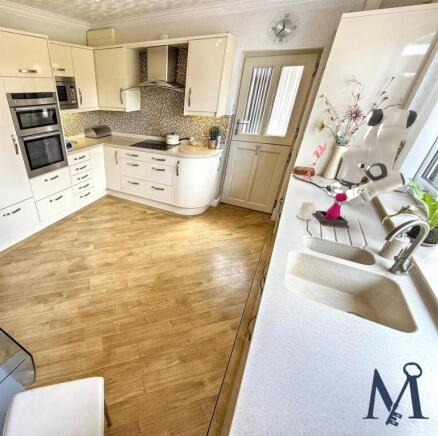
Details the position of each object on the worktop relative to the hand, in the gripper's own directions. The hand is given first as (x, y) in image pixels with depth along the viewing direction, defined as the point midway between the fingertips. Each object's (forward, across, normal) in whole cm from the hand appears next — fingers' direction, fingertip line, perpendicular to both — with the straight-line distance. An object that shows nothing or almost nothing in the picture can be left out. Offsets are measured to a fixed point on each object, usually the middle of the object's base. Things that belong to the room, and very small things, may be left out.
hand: (338, 201), depth 146 cm
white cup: (+20, +7, 0) cm, 21 cm away
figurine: (+22, -84, -2) cm, 87 cm away
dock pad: (+10, 0, +10) cm, 14 cm away
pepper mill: (+9, 0, +9) cm, 13 cm away
